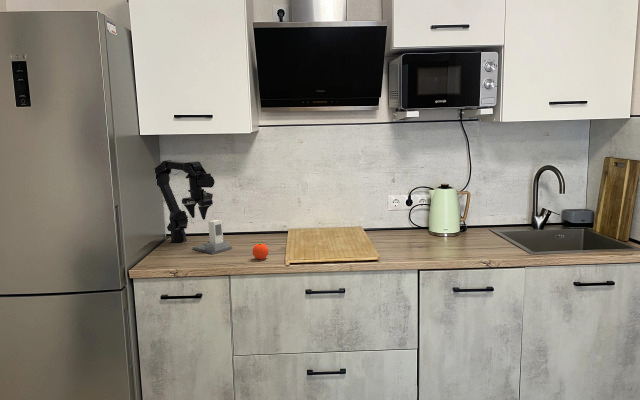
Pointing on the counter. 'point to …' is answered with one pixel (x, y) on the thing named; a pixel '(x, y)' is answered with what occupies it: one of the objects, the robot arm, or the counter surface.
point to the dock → (213, 247)
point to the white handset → (215, 231)
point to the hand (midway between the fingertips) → (198, 218)
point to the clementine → (260, 251)
